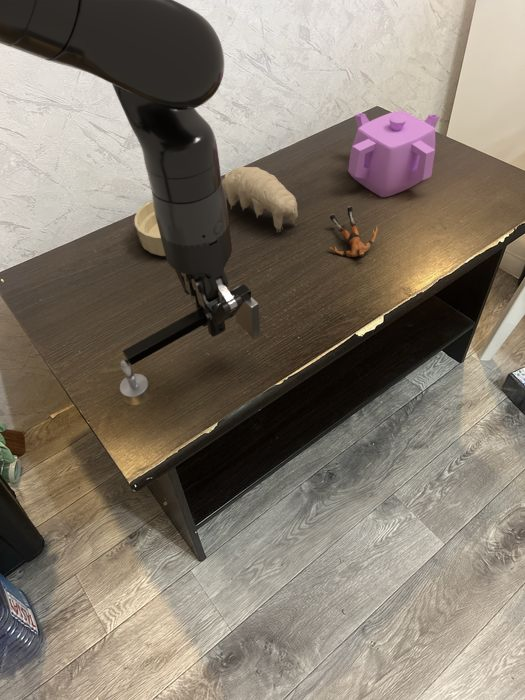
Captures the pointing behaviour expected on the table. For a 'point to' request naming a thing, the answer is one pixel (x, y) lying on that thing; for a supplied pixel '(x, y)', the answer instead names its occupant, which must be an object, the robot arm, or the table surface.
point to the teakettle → (392, 152)
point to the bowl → (149, 229)
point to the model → (260, 193)
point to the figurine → (352, 238)
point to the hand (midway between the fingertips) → (212, 327)
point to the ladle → (137, 384)
